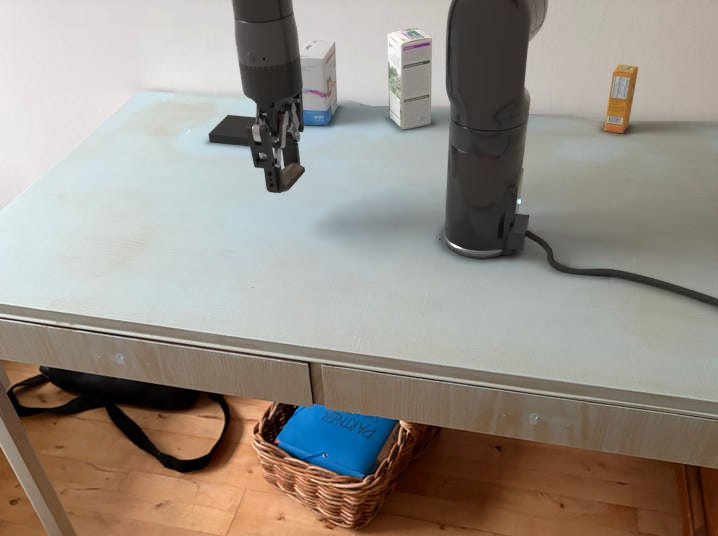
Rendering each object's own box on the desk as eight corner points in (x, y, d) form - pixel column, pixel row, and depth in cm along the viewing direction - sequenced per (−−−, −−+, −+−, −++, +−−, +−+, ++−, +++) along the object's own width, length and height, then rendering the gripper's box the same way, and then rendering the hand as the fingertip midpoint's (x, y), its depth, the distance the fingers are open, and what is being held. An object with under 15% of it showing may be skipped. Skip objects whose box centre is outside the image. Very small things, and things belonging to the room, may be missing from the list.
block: (307, 176, 103) (305, 164, 102) (285, 196, 99) (284, 183, 98) (284, 172, 104) (282, 160, 103) (262, 191, 100) (260, 179, 99)
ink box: (328, 126, 129) (324, 56, 121) (300, 125, 130) (294, 55, 122) (339, 106, 135) (335, 39, 128) (312, 105, 136) (307, 38, 128)
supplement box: (607, 123, 126) (619, 62, 119) (628, 126, 124) (641, 66, 118) (601, 130, 124) (613, 69, 117) (622, 134, 122) (635, 73, 116)
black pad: (281, 127, 130) (280, 119, 129) (264, 147, 124) (263, 139, 123) (229, 122, 132) (227, 114, 131) (209, 142, 126) (208, 133, 125)
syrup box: (432, 124, 128) (434, 36, 119) (400, 130, 127) (400, 42, 117) (417, 112, 132) (419, 26, 123) (387, 118, 131) (386, 32, 121)
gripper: (276, 76, 84) (292, 208, 95) (316, 34, 95) (326, 158, 106) (215, 73, 86) (238, 203, 97) (261, 32, 96) (277, 154, 107)
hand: (284, 179), depth 101 cm, fingers closed on block, 6 cm apart
